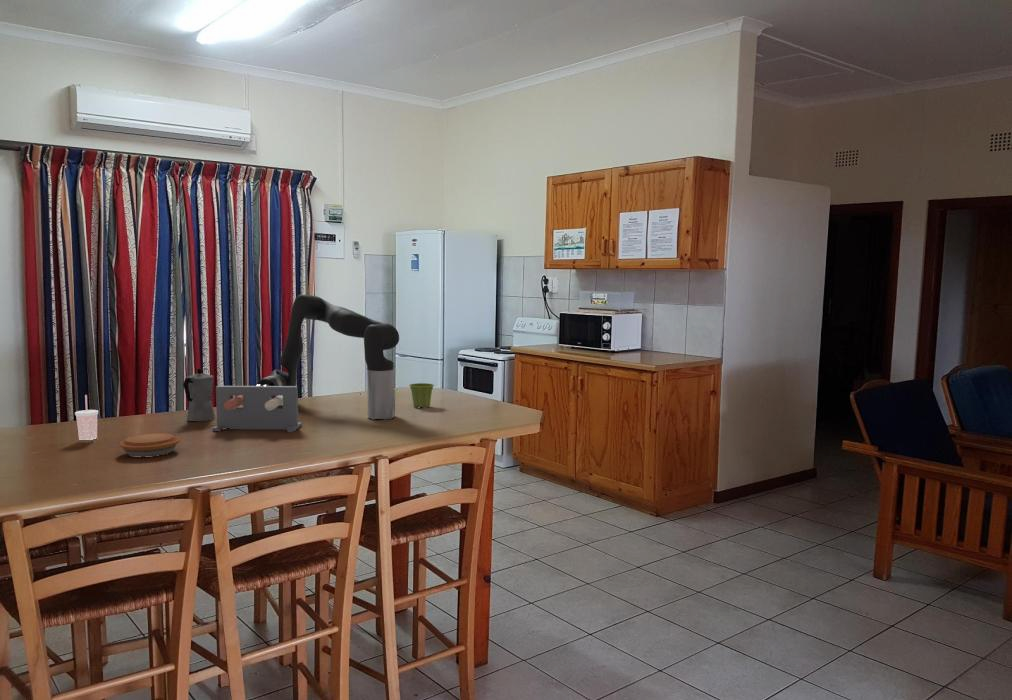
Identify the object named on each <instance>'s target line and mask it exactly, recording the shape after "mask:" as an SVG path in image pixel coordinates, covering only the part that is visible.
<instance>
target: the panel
mask: <svg viewBox="0 0 1012 700" xmlns="http://www.w3.org/2000/svg"><path fill="white" fill-rule="evenodd" d="M298 392H299V391H298V386H297V385H296V386H255V385H217V386H215V401H216V402H215V403H216V404H215V405H216V426H213V427H211V428H212V429H211V432H212V431H219V430H221V429H223V428H226V429H225V430H286V431H288V432H287V433H294V432H296V431H297V430H298V429H300V428H301V427H302V425H303V422H302V421H299V396H298V395H299V393H298ZM237 395H243V405H242V407H236V408H233V409H231V410H226V409H224V406H223V405H224V403H225V402H226V401H228V400H231V399H233V398H232V397H233V396H237ZM271 396H273V397H276V396H283V406H282V407H276V408H275V409H273V410H271V411H268V410H266V409H265V403H266V402H268V401H270V400H271V399H272V397H271ZM300 426H301V427H300ZM299 427H300V428H299ZM227 428H229V429H227ZM297 428H298V429H297ZM296 429H297V430H296ZM223 430H224V429H223ZM221 431H222V430H221ZM293 431H294V432H293ZM219 432H220V431H219Z"/></svg>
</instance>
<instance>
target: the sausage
mask: <svg viewBox="0 0 1012 700" xmlns="http://www.w3.org/2000/svg"><path fill="white" fill-rule="evenodd" d="M223 406H224V409H226V410H231V409H233V408H239V407H240V406H243V395H236V397H233V398H232V399H231V400H228V401H226V402H225V403H224V405H223Z"/></svg>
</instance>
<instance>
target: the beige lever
mask: <svg viewBox="0 0 1012 700" xmlns="http://www.w3.org/2000/svg"><path fill="white" fill-rule="evenodd" d="M279 406H282V407H283V396H274V398H271V400H270V401H268V402H266V403H265V409H266V410H268V411H271V410H273V409H275V408H279Z"/></svg>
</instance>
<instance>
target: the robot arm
mask: <svg viewBox="0 0 1012 700" xmlns="http://www.w3.org/2000/svg"><path fill="white" fill-rule="evenodd" d="M304 319H305V320H311V321H320V322H324V323H326V324H328V326H329V327H330V328H331V329H332V330H333V331H335V332H337V333H339V334H342V335H344V336H348V337H351V338H358V339H359V338H361V339H363V347H364V349H363V350H364V361H365V364H366V374H367V375H366V376H367V377H366V378H367V379H366V380H367V382H366V383H367V387H366V388H367V393H366V394H367V418H368V419H369V418H371V419H370V420H375V419H383V420H393V419H394V418H395V417H396V390H395V388H394V387H395V386H394V384H395V380H394V379H395V377H394V373H395V370H394V367H395V366H394V364H395V363H394V361H392V359H391V360H390V359H388V358H386V357H385V356H384V355H385V354H384V351H386V350H387V351H388V350H392V349H393V348H396V346H397V345H398V344H399V341H400V334H399V332H398V329H397V328H396V327H395V326H394V325H392V324H390V323H386V322H382V321H377V320H374V319H371V318H369V317H368V316H367V317H366V316H365V315H362V314H360V313H357V312H355V311H353V310H351V309H348V308H345V307H342V306H338V305H334V304H332V303H330V302H328V301H327V300H325V299H323V298H321V297H319V296H316V295H311V294H310V295H309V294H305V293H304V294H303V293H302V294H299V295H297V296H296V297H295V299H294V301H293V304H292V308H291V313H290V318H289V322H288V323H289V325H288V329H287V330H288V331H287V337H286V340H285V343H284V344H285V345H284V347H283V350H282V352H281V353H282V354H281V356H280V359H279V364H280V366H281V367H283V368H284V369H286V370H287V372H286V371H283V370H281V369H274V370H272V371H271V373H270V374H269V376H266V377H263V378H261V379H259V380H258V381H256V383H255V384H254V386H297V383H298V382H297V380H298V379H297V378H298V377H297V376H298V373H297V372H298V367H299V363H300V360H301V357H302V355H303V350H304V343H303V338H302V329H301V328H302V324H303V322H304ZM272 397H274V396H271V398H272ZM394 416H395V417H394ZM393 417H394V418H393ZM392 418H393V419H392Z"/></svg>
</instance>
